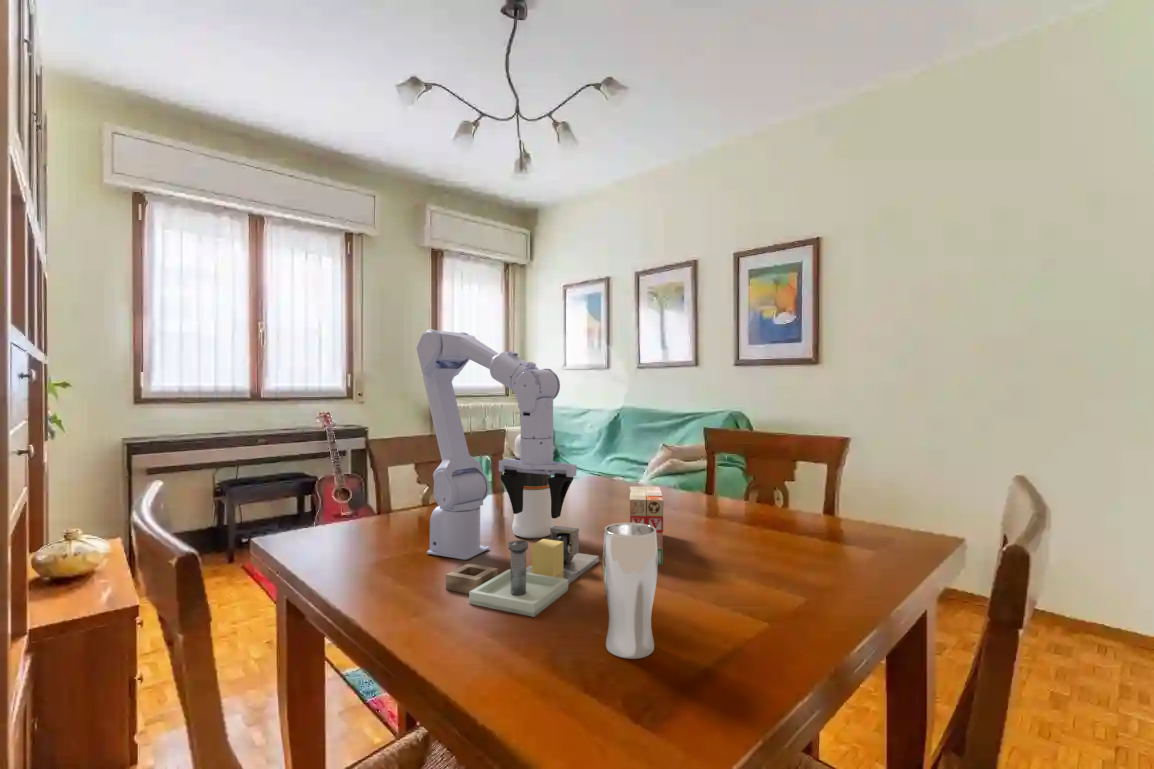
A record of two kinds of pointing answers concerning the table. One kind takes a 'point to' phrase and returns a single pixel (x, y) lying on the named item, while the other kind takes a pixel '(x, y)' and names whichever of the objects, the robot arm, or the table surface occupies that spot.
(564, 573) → the trolley wheel
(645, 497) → the stack of blocks
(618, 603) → the beer glass
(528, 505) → the vodka
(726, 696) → the table surface
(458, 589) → the socket
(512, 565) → the pin
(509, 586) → the tray
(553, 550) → the pale yellow cube
